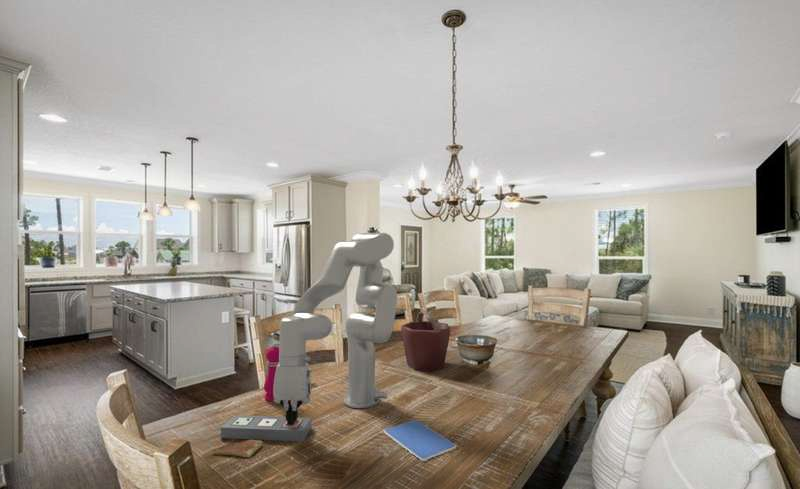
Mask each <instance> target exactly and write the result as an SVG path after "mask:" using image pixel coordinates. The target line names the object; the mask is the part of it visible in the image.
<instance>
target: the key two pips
mask: <svg viewBox="0 0 800 489" xmlns="http://www.w3.org/2000/svg"><path fill="white" fill-rule="evenodd" d="M252 420H253V418H239V419H237V420H236V421H235V422H234V423H233V424H232V425H237V426H247V425H248V424H249V423H250V422H251V421H252Z"/></svg>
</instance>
